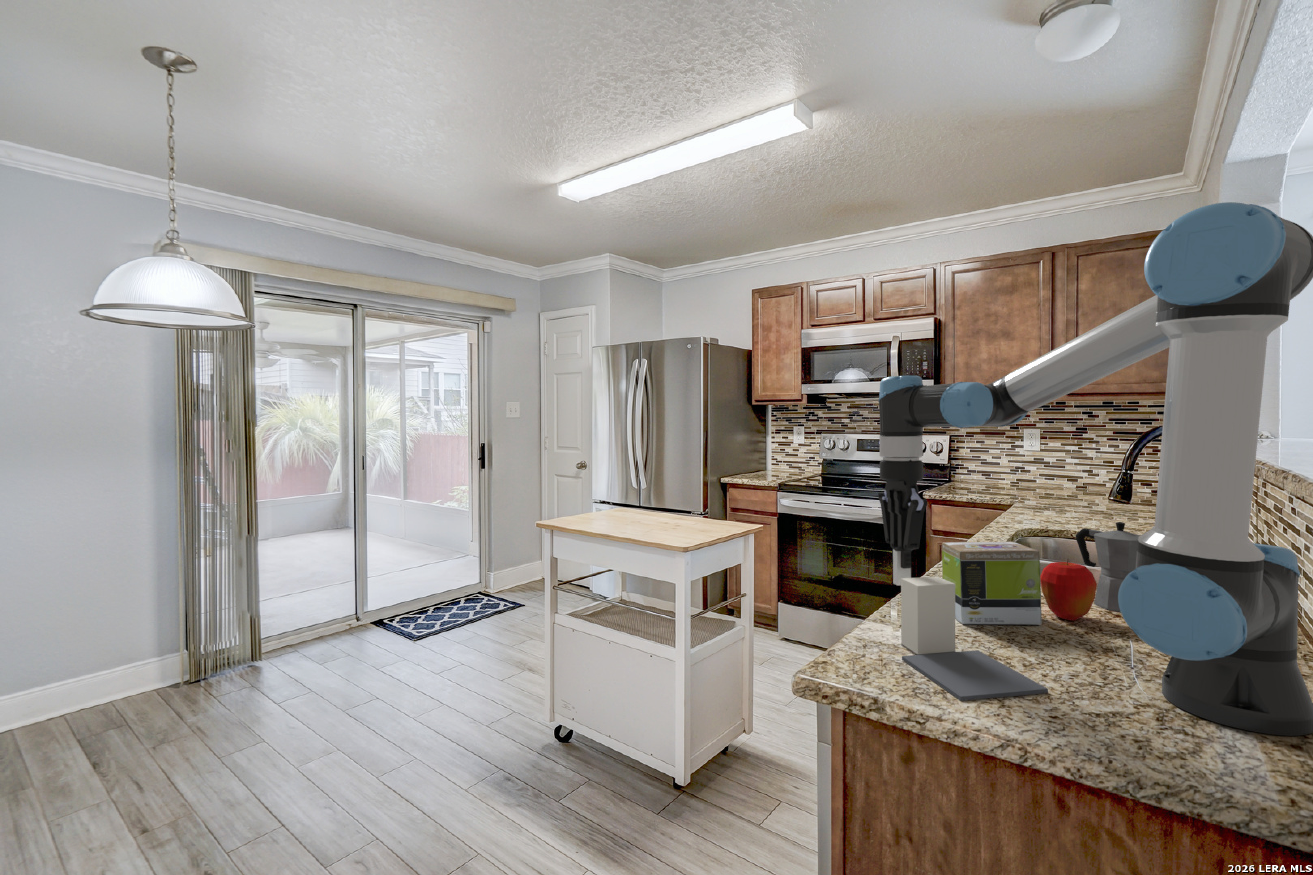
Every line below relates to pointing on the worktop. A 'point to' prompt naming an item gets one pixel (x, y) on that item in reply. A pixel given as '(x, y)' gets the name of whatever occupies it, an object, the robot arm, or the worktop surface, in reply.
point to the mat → (973, 675)
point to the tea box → (994, 582)
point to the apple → (1068, 589)
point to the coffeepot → (1110, 561)
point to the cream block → (927, 615)
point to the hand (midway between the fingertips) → (902, 584)
